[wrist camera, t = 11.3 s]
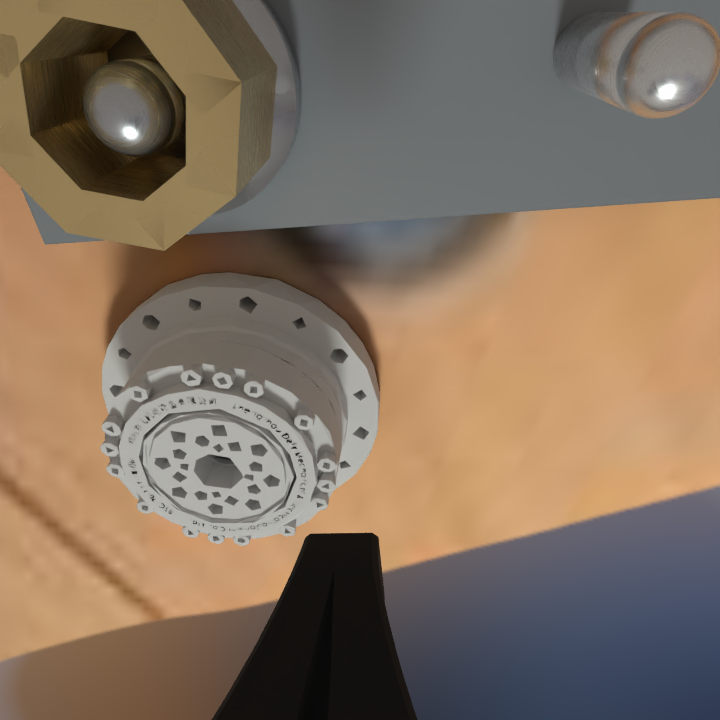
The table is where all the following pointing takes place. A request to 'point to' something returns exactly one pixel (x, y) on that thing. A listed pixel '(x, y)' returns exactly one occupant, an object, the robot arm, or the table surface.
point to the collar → (95, 159)
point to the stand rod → (639, 59)
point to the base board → (461, 119)
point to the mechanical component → (236, 405)
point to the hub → (168, 103)
